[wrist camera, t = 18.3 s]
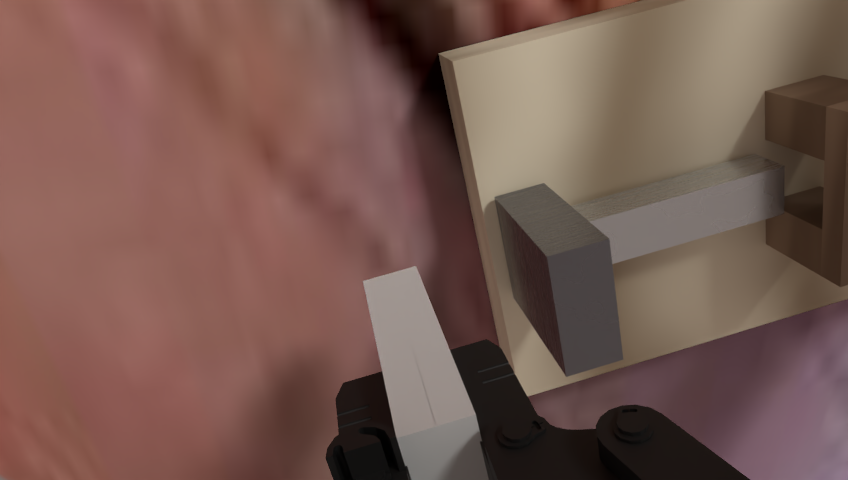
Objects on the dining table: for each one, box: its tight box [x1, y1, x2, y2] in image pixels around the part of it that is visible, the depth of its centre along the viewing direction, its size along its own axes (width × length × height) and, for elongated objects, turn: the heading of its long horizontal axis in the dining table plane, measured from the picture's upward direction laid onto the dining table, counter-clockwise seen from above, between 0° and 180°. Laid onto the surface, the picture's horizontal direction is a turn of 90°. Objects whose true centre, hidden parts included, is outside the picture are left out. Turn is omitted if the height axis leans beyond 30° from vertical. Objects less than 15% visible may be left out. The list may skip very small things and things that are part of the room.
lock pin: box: [494, 154, 785, 377], centre depth 19 cm, size 9×4×5 cm, turn 103°
